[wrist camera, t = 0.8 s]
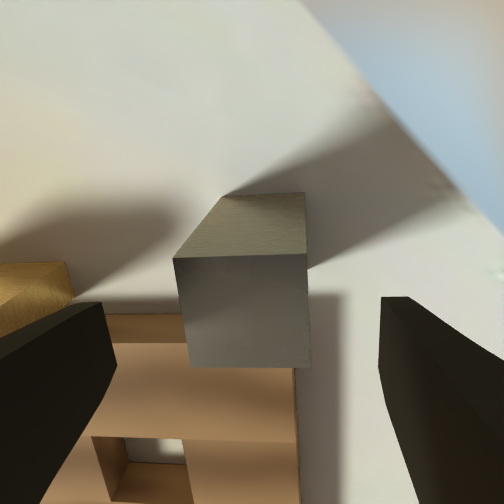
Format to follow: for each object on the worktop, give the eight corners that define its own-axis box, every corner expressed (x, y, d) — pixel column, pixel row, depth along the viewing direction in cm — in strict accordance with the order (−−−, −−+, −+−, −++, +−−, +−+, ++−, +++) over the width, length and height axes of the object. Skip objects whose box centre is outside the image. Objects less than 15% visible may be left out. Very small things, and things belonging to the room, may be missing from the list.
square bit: (307, 269, 18) (310, 368, 11) (229, 271, 18) (190, 367, 12) (304, 192, 16) (306, 253, 10) (221, 196, 17) (172, 257, 10)
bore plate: (303, 534, 24) (303, 579, 22) (68, 519, 27) (45, 559, 24) (291, 312, 19) (290, 342, 16) (-8, 316, 21) (-46, 343, 18)
